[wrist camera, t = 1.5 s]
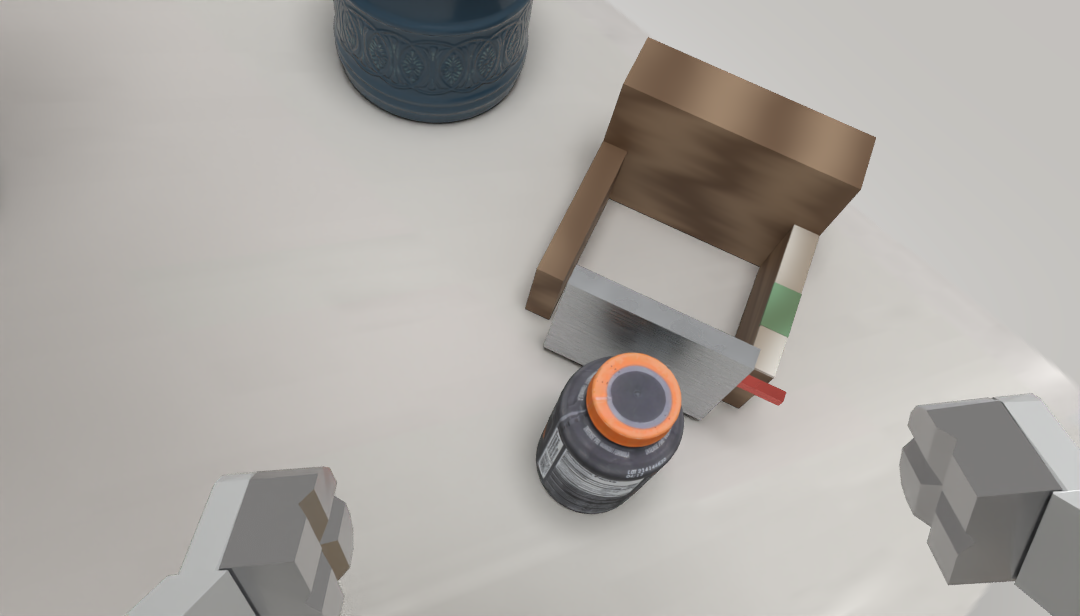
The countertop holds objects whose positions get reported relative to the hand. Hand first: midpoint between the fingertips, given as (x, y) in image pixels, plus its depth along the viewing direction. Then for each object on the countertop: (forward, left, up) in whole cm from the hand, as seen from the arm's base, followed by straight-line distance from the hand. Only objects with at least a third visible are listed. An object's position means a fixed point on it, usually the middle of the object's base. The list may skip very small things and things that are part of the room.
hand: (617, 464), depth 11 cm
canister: (-19, +32, -32) cm, 49 cm away
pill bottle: (+2, +10, -32) cm, 33 cm away
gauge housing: (+2, +23, -31) cm, 39 cm away
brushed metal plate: (+3, +16, -31) cm, 35 cm away
